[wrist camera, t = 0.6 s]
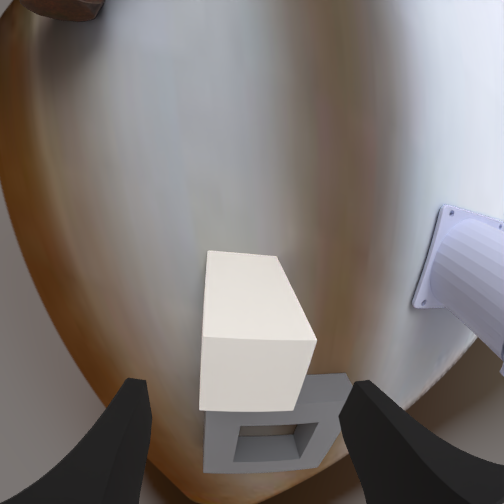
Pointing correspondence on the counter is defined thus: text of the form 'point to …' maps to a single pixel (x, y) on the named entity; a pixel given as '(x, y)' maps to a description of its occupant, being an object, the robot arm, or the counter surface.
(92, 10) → the bolt
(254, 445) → the socket block
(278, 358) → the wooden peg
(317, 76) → the counter surface
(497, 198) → the counter surface
